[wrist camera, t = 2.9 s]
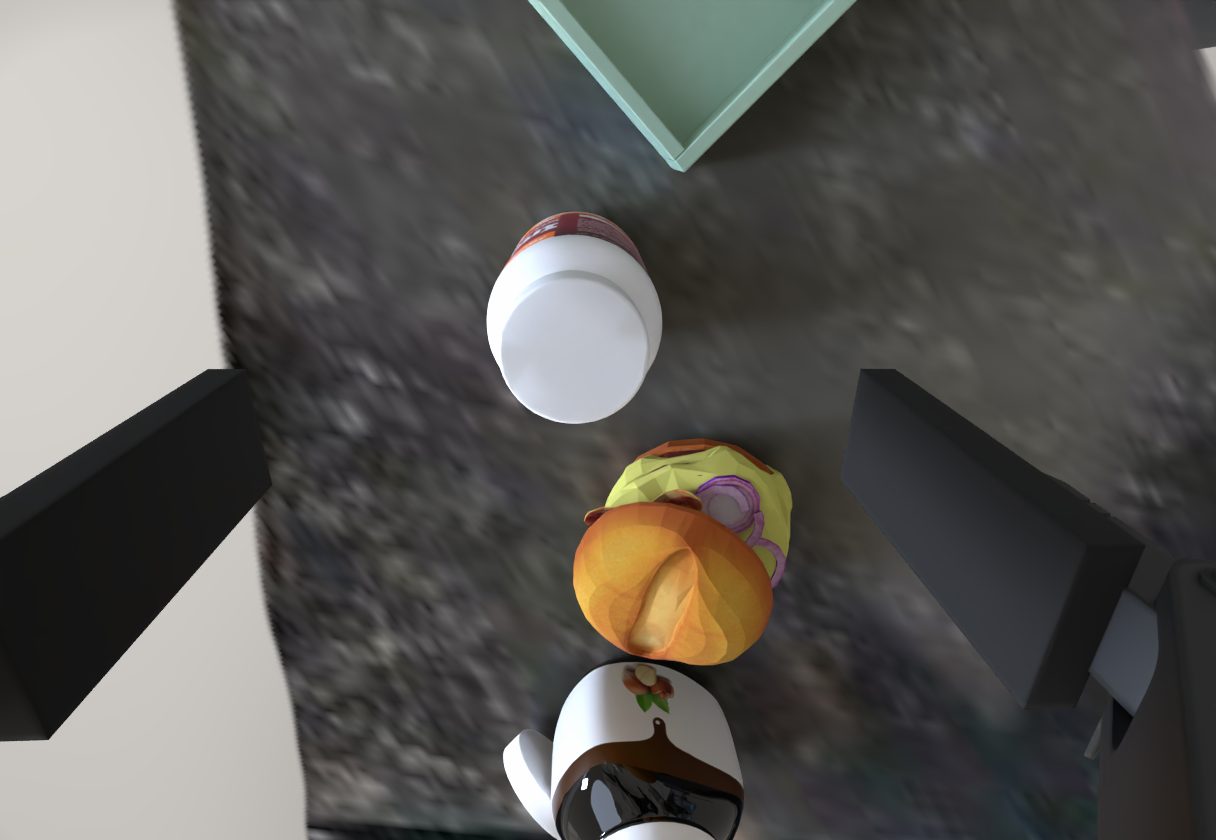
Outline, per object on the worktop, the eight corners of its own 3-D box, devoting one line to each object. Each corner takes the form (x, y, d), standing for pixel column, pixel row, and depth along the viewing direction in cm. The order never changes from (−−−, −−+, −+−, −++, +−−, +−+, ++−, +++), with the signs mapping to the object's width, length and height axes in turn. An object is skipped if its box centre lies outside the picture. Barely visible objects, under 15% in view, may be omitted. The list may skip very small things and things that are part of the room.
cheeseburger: (809, 550, 36) (831, 703, 27) (634, 577, 39) (605, 720, 31) (766, 397, 32) (776, 521, 23) (574, 442, 35) (521, 564, 26)
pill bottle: (540, 184, 27) (519, 210, 17) (666, 246, 29) (713, 303, 19) (489, 312, 30) (443, 401, 19) (607, 364, 31) (622, 472, 21)
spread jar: (735, 676, 40) (792, 872, 29) (655, 789, 44) (680, 998, 33) (558, 619, 37) (551, 811, 26) (492, 745, 41) (462, 955, 30)
